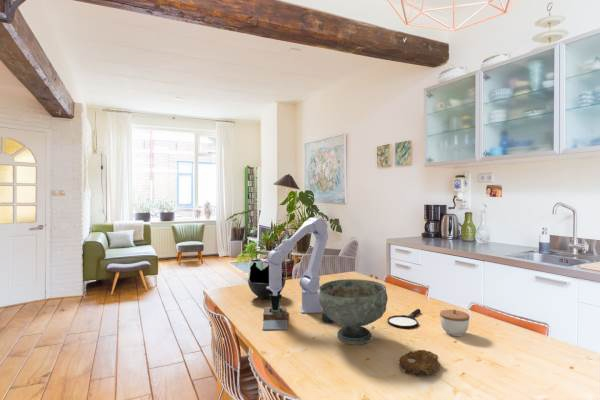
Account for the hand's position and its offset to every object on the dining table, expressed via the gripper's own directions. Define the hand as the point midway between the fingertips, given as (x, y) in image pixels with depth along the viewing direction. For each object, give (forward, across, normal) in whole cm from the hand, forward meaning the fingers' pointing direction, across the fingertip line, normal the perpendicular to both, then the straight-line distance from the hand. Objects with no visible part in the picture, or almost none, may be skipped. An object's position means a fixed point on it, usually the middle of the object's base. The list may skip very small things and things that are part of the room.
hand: (275, 307), depth 160 cm
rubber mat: (+4, +12, 0) cm, 13 cm away
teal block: (+4, 0, 0) cm, 4 cm away
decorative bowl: (+4, +26, +30) cm, 40 cm away
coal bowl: (+4, -28, -5) cm, 29 cm away
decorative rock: (+4, +50, +47) cm, 69 cm away
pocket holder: (+4, 0, 0) cm, 4 cm away
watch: (+4, +8, +24) cm, 26 cm away
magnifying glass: (+4, +8, +58) cm, 59 cm away
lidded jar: (+4, +24, +71) cm, 75 cm away
